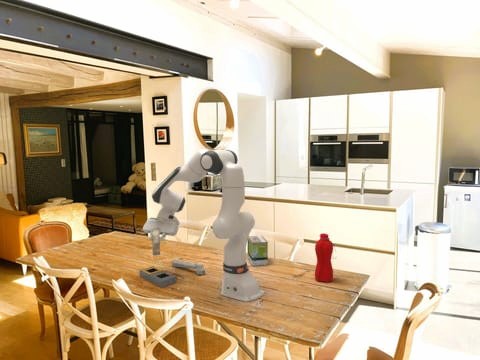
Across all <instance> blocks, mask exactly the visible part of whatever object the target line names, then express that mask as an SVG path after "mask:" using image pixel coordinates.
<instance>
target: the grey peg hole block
mask: <svg viewBox="0 0 480 360" xmlns="http://www.w3.org/2000/svg"><path fill="white" fill-rule="evenodd" d="M138 271H139V277H140V278H142V279H144V280H146V281H149V282H150V283H152V284H154V285H155V286H157V287H160V288H165V287H168V286H170V285H174V284H177V276H176V275H174V274H172V273H169V272H167V271H165V270H164V269H161V268H159V267H156V266H153V265H152V266H150V267H146V268H143V269H139V270H138Z"/></svg>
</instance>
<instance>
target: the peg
mask: <svg viewBox="0 0 480 360" xmlns="http://www.w3.org/2000/svg"><path fill="white" fill-rule="evenodd" d="M159 237H161V235H160V233H159V229H158V228H154V229H152V241H151V243H152V248H151V249H152V255H153V257H154V256H160V255H161V242H160V241H158V239H159Z"/></svg>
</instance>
